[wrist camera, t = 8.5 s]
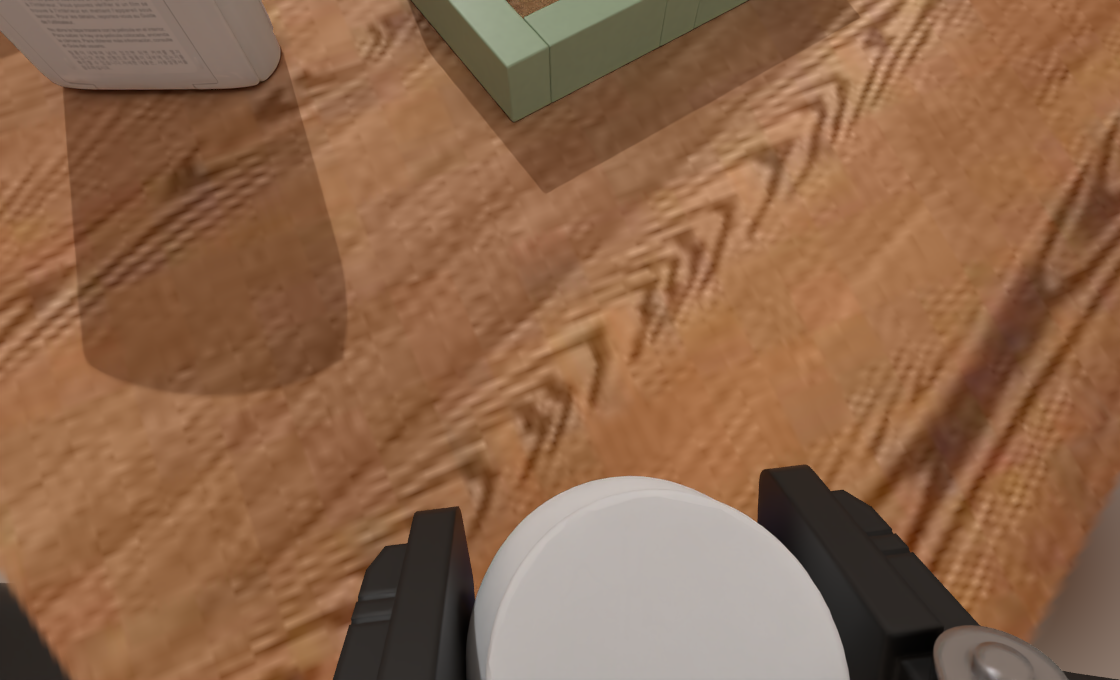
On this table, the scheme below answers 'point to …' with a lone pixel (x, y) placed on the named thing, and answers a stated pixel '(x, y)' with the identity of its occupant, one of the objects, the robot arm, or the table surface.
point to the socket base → (558, 41)
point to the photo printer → (144, 42)
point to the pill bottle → (648, 594)
